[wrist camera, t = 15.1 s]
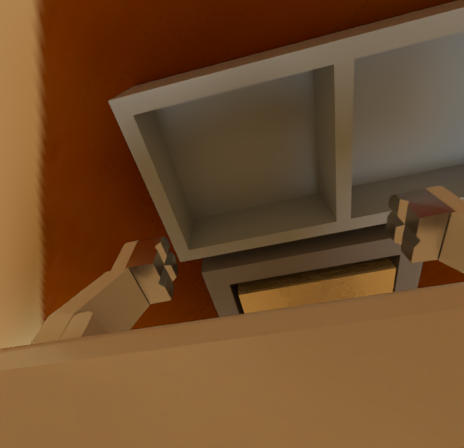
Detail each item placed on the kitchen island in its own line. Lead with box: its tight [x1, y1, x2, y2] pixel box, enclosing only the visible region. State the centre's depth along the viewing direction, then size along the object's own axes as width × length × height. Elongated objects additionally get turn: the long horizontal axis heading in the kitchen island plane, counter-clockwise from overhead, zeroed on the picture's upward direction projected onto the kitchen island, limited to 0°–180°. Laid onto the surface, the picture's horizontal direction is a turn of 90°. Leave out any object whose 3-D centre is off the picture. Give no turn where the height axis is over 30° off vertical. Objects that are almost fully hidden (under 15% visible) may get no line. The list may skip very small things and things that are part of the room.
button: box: [238, 257, 396, 314], centre depth 22 cm, size 10×10×4 cm
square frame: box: [201, 223, 423, 317], centre depth 23 cm, size 14×14×4 cm
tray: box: [108, 0, 464, 262], centre depth 15 cm, size 20×10×4 cm, turn 103°
